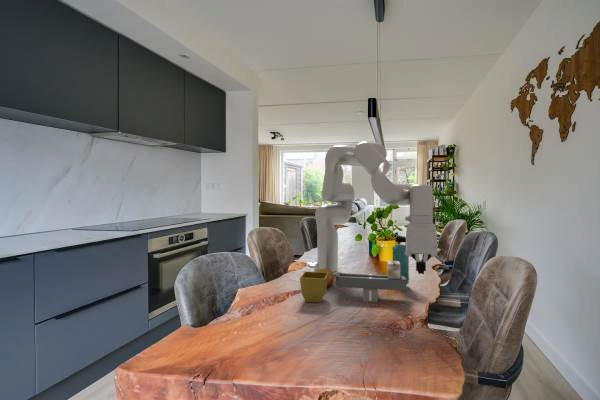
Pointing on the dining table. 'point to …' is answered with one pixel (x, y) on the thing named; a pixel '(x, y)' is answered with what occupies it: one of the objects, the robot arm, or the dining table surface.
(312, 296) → the flower pot
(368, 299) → the beam
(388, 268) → the rider
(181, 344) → the dining table surface
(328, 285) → the fruit
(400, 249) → the beverage bottle
